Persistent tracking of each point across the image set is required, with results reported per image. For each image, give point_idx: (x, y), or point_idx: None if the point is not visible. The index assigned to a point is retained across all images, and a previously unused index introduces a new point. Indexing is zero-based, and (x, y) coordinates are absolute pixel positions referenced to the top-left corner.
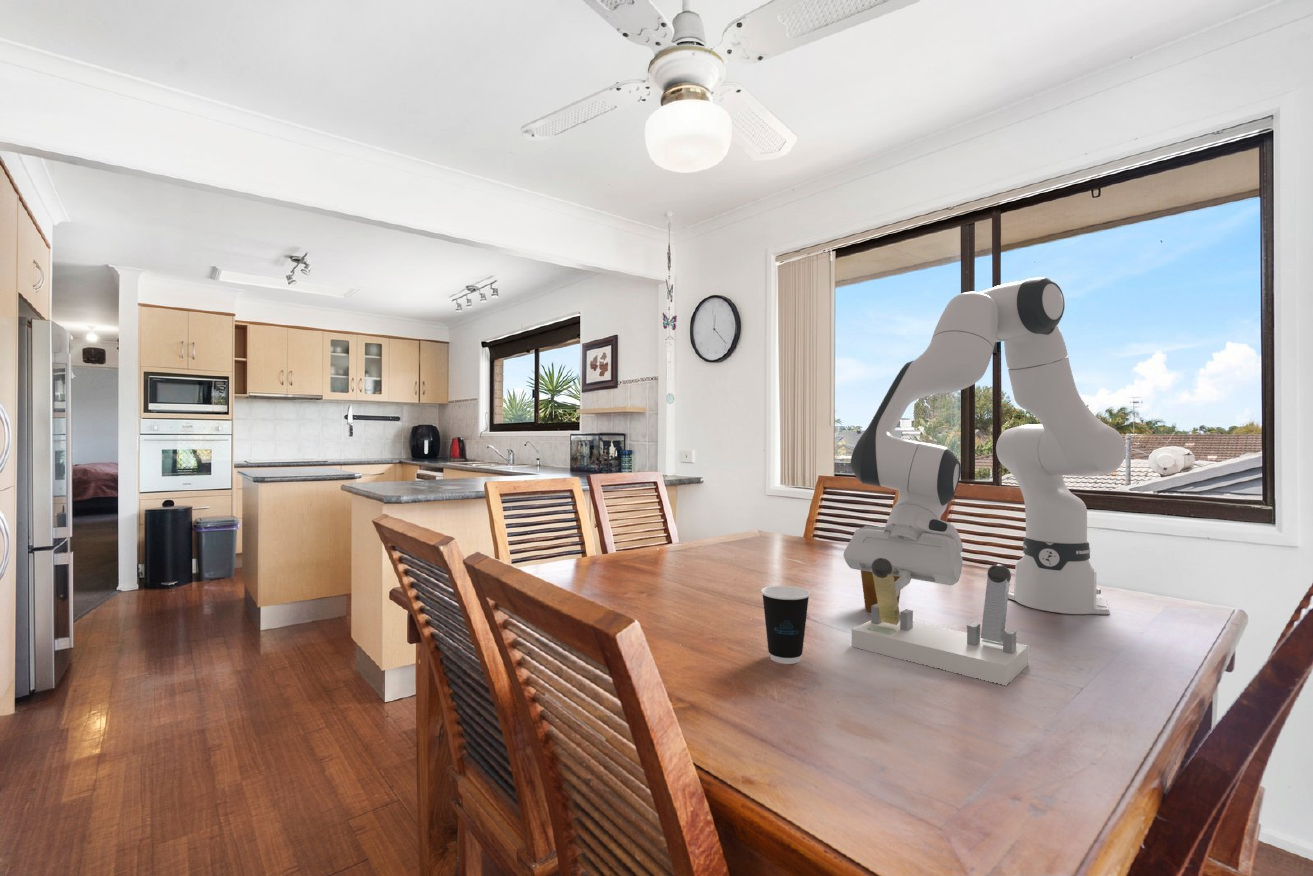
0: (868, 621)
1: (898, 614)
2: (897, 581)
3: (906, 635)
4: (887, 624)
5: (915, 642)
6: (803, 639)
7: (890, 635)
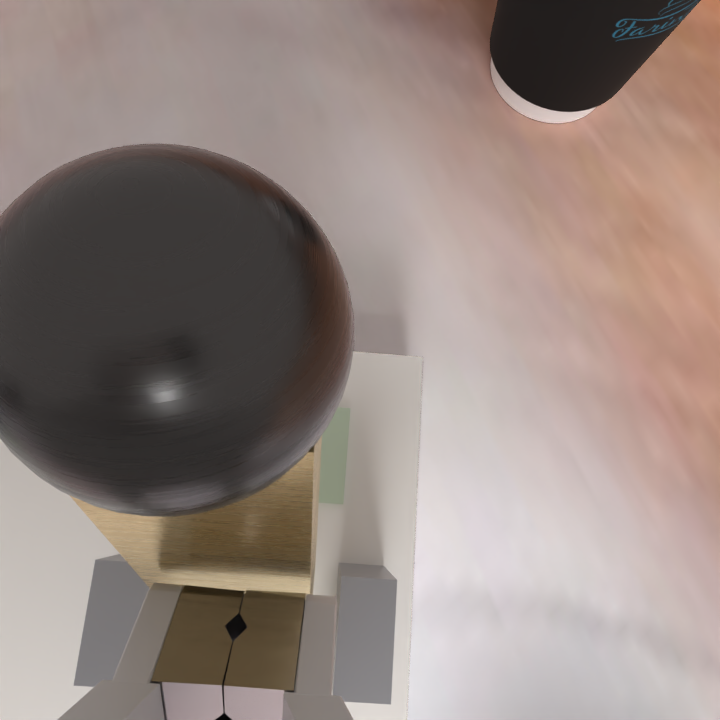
0: (410, 585)
1: None
2: (105, 709)
3: None
4: None
5: None
6: (505, 7)
7: None
